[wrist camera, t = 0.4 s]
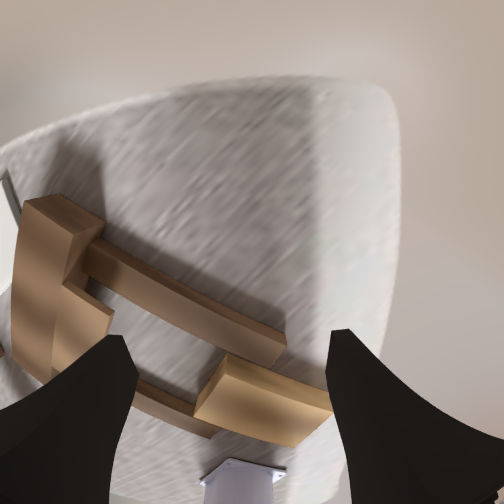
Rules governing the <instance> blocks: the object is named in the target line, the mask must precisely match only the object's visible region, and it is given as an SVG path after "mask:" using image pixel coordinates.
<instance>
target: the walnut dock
mask: <svg viewBox="0 0 504 504" xmlns="http://www.w3.org/2000/svg"><path fill="white" fill-rule="evenodd" d="M105 224H106V221H104V220H102V219H101V218H99V217H97V216H96V215H94V214H92V213H91V212H89V211H87V210H86V209H84V208H82V207H81V206H79V205H77V204H76V203H74V202H73V201H71V200H69V199H68V198H66V197H64V196H63V195H61V194H56V195H50V196H45V197H40V198H35V199H30V200H26V201H24V204H23V208H22V213H21V218H20V223H19V228H18V234H17V241H16V248H15V255H14V264H13V275H12V290H11V342H12V356H13V360H14V361H15V362H16V363H18V364H19V365H20V366H21V367H22V368H23V369H25V370H26V371H27V372H28V373H30V374H31V375H32V376H33V377H35V378H36V379H37V380H38V381H40V382H41V383H42V384H44V385H45V384H46V383H48V382H49V381H50V380H52V379H53V378H54V377H55V376H57V375H58V374H59V373H61V372H62V371H63V370H65V369H66V368H67V367H68V366H70V365H71V364H72V363H73V362H74V361H76V360H77V359H78V358H79V357H80V356H82V355H83V354H84V353H85V352H86V351H88V350H89V349H90V348H91V347H92V346H94V345H95V344H96V343H97V342H99V341H100V340H101V339H103V338H104V337H105V336H107V335H108V332H109V328H110V325H111V322H112V319H113V315H114V312H115V311H114V310H113V309H111V308H109V307H108V306H106V305H105V304H103V303H101V302H100V301H98V300H97V299H95V298H93V297H92V296H90V295H89V294H87V293H86V292H85V290H86V286H87V282H88V278H89V276H90V277H92V278H93V279H95V280H96V281H98V282H100V283H101V284H103V285H104V286H106V287H108V288H109V289H111V290H112V291H114V292H116V293H117V294H119V295H121V296H122V297H124V298H126V299H128V300H129V301H131V302H133V303H134V304H136V305H138V306H140V307H141V308H143V309H145V310H147V311H149V312H150V313H152V314H154V315H156V316H158V317H160V318H161V319H163V320H165V321H167V322H169V323H171V324H173V325H175V326H177V327H179V328H181V329H183V330H185V331H187V332H189V333H191V334H193V335H195V336H197V337H199V338H201V339H203V340H205V341H207V342H209V343H211V344H213V345H215V346H218V347H220V348H222V349H224V350H226V351H229V352H231V353H233V354H235V355H238V356H240V357H242V358H244V359H247V360H249V361H252V362H254V363H256V364H259V365H261V366H264V367H266V368H269V369H270V368H271V367H272V366H273V364H274V363H275V362H276V360H277V359H278V358H279V357H280V355H281V354H282V353H283V351H284V350H285V349H286V347H287V342H286V336H285V334H283V333H281V332H279V331H277V330H275V329H273V328H270V327H268V326H266V325H264V324H262V323H260V322H258V321H255V320H253V319H251V318H249V317H247V316H245V315H243V314H241V313H239V312H237V311H235V310H233V309H231V308H229V307H227V306H225V305H223V304H221V303H219V302H217V301H215V300H213V299H211V298H209V297H207V296H205V295H203V294H201V293H199V292H197V291H195V290H193V289H191V288H190V287H188V286H186V285H184V284H182V283H180V282H178V281H176V280H175V279H173V278H171V277H169V276H167V275H165V274H163V273H162V272H160V271H158V270H156V269H154V268H153V267H151V266H149V265H147V264H146V263H144V262H142V261H140V260H138V259H137V258H135V257H133V256H131V255H130V254H128V253H126V252H125V251H123V250H121V249H119V248H118V247H116V246H114V245H113V244H111V243H109V242H108V241H106V240H104V239H103V238H101V235H102V232H103V229H104V227H105ZM131 406H133V407H135V408H137V409H139V410H141V411H143V412H145V413H147V414H149V415H151V416H153V417H156V418H158V419H160V420H162V421H164V422H167V423H169V424H171V425H174V426H176V427H179V428H181V429H184V430H186V431H189V432H191V433H194V434H197V435H199V436H202V437H205V438H208V439H211V438H212V437H213V435H214V434H215V433H216V432H217V431H218V430H219V429H220V427H219V426H216V425H213V424H211V423H208V422H205V421H203V420H200V419H198V418H195V417H193V415H194V411H195V406H196V405H193V404H191V403H188V402H186V401H184V400H182V399H179V398H177V397H175V396H173V395H170V394H168V393H166V392H164V391H162V390H160V389H158V388H156V387H154V386H152V385H150V384H148V383H146V382H144V381H142V380H140V379H138V381H137V386H136V391H135V395H134V399H133V402H132V405H131Z"/></svg>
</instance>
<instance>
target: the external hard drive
mask: <svg viewBox="0 0 504 504" xmlns="http://www.w3.org/2000/svg"><path fill="white" fill-rule="evenodd" d="M20 218H21V214H20V211H19V209H18V206H17V204H16V201H15V198H14V196H13V193H12V190H11V187H10V184H9V181H8V178H7V179H2V180H1V181H0V295H1V294H2V293H3V292H4V291H5V290H6V289H7V288H8V287H9V286H10V285H11V284H12V275H13V264H14V255H15V248H16V241H17V234H18V228H19V223H20Z"/></svg>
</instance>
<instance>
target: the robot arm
mask: <svg viewBox="0 0 504 504" xmlns="http://www.w3.org/2000/svg"><path fill="white" fill-rule="evenodd" d="M325 374H326V380H327V386H328V392H329V398H330V401H331V405H332V408H333V411H334V415H335V418H336V422H337V425H338V429H339V432H340V436H341V439H342V443H343V446H344V450H345V454H346V459H347V465H348V472H349V479H350V489H351V499H352V504H504V499H502V500H501V501H499V502H498V503H494V501H495V500H497V499H498V497H499V496H498V493H497V491H498V490H500V489H501V488H502V487H503V486H504V440H503V439H500V438H496V437H494V436H491V435H488V434H486V433H483V432H481V431H479V430H476V429H474V428H472V427H470V426H468V425H466V424H464V423H462V422H460V421H458V420H456V419H454V418H453V417H451V416H449V415H447V414H446V413H444V412H442V411H441V410H439V409H437V408H436V407H435V406H433V405H432V404H430V403H429V402H428V401H426V400H425V399H423V398H422V397H420V396H419V395H418V394H417V393H415V392H414V391H413V390H412V389H410V388H409V387H408V386H407V385H406V384H405V383H403V382H402V381H401V380H400V379H399V378H398V377H396V376H395V375H394V374H393V373H392V372H391V371H390V370H389V369H388V368H387V367H386V366H385V365H384V364H383V363H382V362H381V361H380V360H379V359H378V358H377V357H376V356H375V355H374V354H373V353H372V352H371V351H370V350H369V349H368V348H367V347H366V346H365V345H364V344H363V343H362V342H361V341H360V340H359V339H358V337H357V336H356V335H355V334H354V333H353V332H352V331H351V330H350V329H342V330H333V331H331V337H330V345H329V352H328V358H327V365H326V371H325ZM138 376H139V373H138V371H137V369H136V367H135V365H134V362H133V360H132V358H131V356H130V353H129V351H128V348H127V346H126V344H125V341H124V339H123V336H122V335H110V334H108V335H107V336H105V337H104V338H103V339H101V340H100V341H99V342H97V343H96V344H95V345H94V346H92V347H91V348H90V349H89V350H88V351H86V352H85V353H84V354H83V355H82V356H80V357H79V358H78V359H77V360H76V361H74V362H73V363H72V364H71V365H70V366H68V367H67V368H66V369H65V370H63V371H62V372H61V373H59V374H58V375H57V376H55V377H54V378H53V379H52V380H50V381H49V382H48V383H46V384H45V385H44V386H42V387H41V388H39V389H38V390H36V391H35V392H33V393H31V394H30V395H28V396H27V397H25V398H23V399H21V400H20V401H18V402H16V403H14V404H12V405H10V406H8V407H6V408H4V409H2V410H0V504H109V491H110V482H111V473H112V467H113V462H114V456H115V452H116V448H117V445H118V442H119V439H120V436H121V433H122V430H123V427H124V424H125V422H126V419H127V416H128V413H129V410H130V407H131V405H132V402H133V399H134V395H135V391H136V386H137V381H138ZM286 474H287V471H285V470H280V469H275V468H270V467H265V466H261V465H256V464H252V463H248V462H244V461H240V460H237V459H233V458H228V459H227V460H225V461H224V462H223V463H222V464H221V465H220V466H218V467H217V468H216V469H215V470H214V471H212V472H211V473H210V474H209V475H207V476H206V477H205V478H204V479H202V480H201V481H200V483H199V484H200V485H202V486H206V489H205V497H204V504H274V494H273V483H274V482H276V481H277V480H279V479H280V478H282V477H283V476H285V475H286Z"/></svg>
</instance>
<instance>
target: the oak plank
mask: <svg viewBox="0 0 504 504" xmlns="http://www.w3.org/2000/svg"><path fill="white" fill-rule="evenodd" d="M333 413H334V411H333V408H332V405H331V401H330V398H329V394H328V392H326V391H323V390H320V389H317V388H314V387H312V386H309V385H306V384H303V383H301V382H298V381H295V380H292V379H290V378H287V377H285V376H282V375H280V374H277V373H275V372H272V371H270V370H267V369H265V368H262V367H260V366H258V365H255V364H253V363H250V362H248V361H246V360H244V359H241V358H239V357H237V356H235V355H232V354H230V353H227V354H226V356H225V357H224V359H223V360H222V362H221V363H220V365H219V366H218V368H217V369H216V371H215V372H214V373H213V375H212V376H211V378H210V379H209V381H208V382H207V384H206V385H205V386H204V388H203V389H202V391H201V392H200V394H199V395H198V398H197V402H196V406H195V411H194V415H193V417H195V418H198V419H200V420H203V421H205V422H208V423H211V424H213V425H216V426H219V427H222V428H225V429H227V430H230V431H233V432H236V433H240V434H243V435H246V436H249V437H253V438H256V439H259V440H263V441H267V442H270V443H274V444H278V445H282V446H286V447H290V448H294V447H295V446H297V445H298V444H299V443H300V442H301V441H303V440H304V439H305V438H306V437H307V436H309V435H310V434H311V433H312V432H313V431H314V430H316V429H317V428H318V427H319V426H320V425H321V424H322V423H323V422H324V421H326V420H327V419H328V418H329V417H330V416H331V415H332V414H333Z"/></svg>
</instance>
